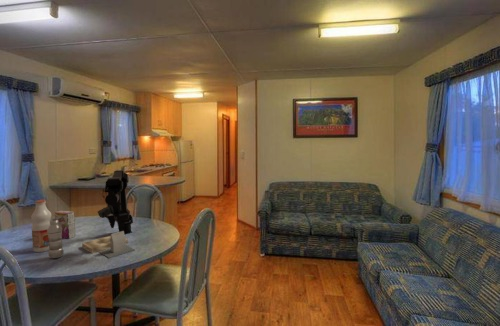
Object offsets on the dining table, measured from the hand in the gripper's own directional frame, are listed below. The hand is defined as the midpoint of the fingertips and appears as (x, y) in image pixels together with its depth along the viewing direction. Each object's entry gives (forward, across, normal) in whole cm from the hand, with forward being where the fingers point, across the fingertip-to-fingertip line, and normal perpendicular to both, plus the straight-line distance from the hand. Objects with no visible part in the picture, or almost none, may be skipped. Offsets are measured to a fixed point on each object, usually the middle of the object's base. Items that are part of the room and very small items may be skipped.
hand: (116, 229), depth 152 cm
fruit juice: (+12, -36, -25) cm, 46 cm away
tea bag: (+12, 0, +1) cm, 12 cm away
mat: (+12, 0, 0) cm, 12 cm away
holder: (+12, -15, 0) cm, 19 cm away
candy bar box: (+12, -50, -10) cm, 53 cm away
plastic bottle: (+12, -17, -24) cm, 32 cm away
